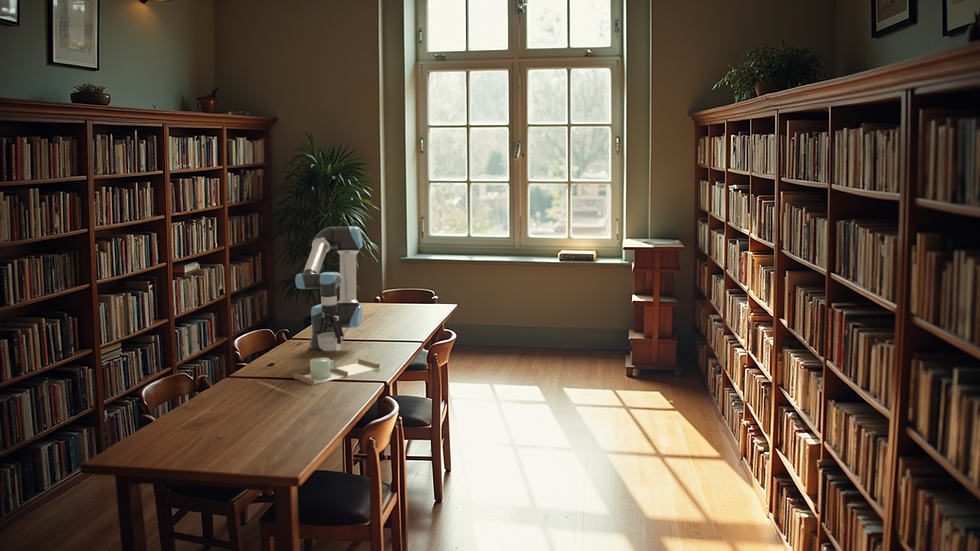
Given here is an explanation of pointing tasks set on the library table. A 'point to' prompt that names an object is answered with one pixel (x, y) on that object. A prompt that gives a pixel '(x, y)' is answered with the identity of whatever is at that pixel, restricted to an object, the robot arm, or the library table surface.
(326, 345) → the teacup
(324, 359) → the pale green cup
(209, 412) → the library table surface
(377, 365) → the beige tray
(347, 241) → the robot arm
